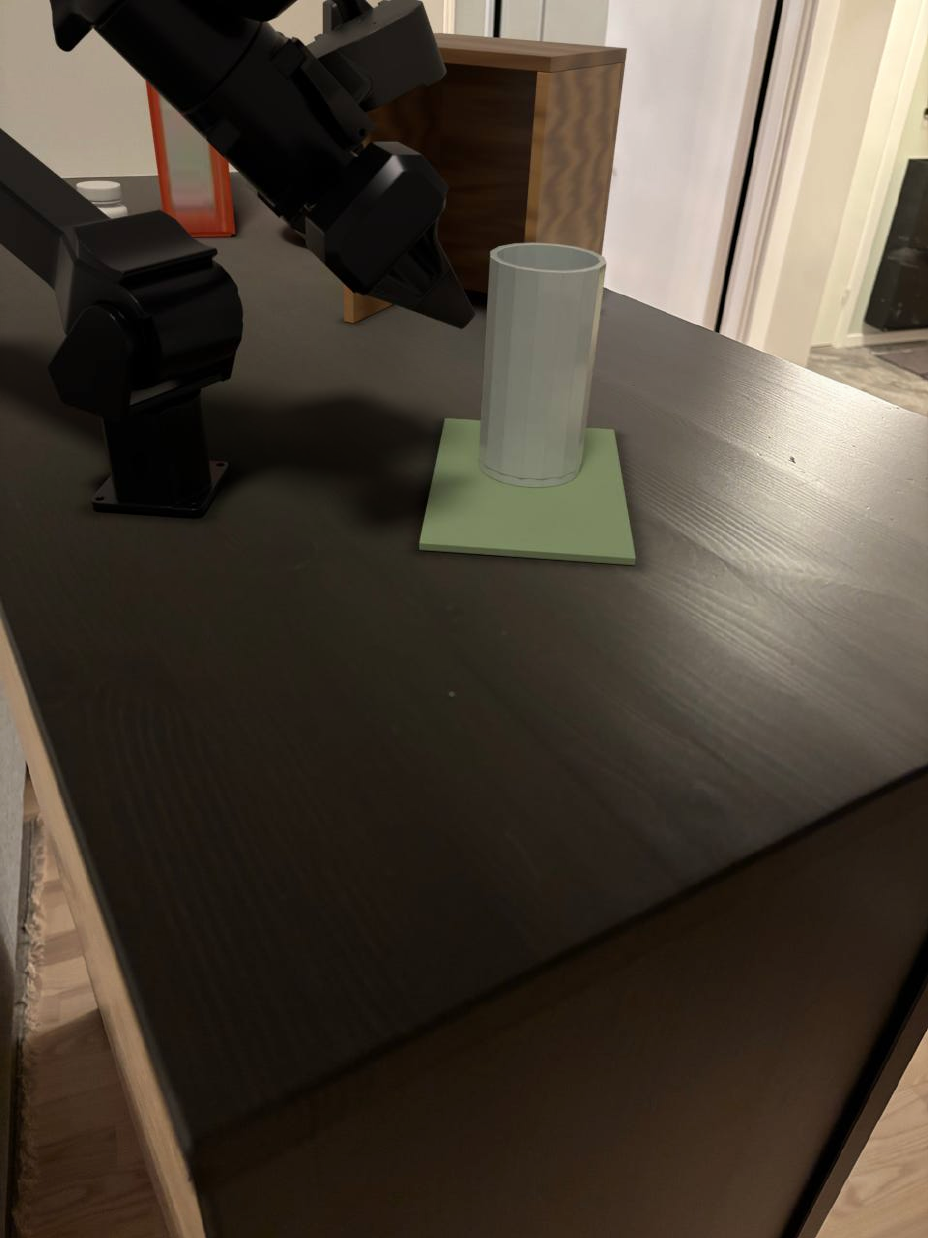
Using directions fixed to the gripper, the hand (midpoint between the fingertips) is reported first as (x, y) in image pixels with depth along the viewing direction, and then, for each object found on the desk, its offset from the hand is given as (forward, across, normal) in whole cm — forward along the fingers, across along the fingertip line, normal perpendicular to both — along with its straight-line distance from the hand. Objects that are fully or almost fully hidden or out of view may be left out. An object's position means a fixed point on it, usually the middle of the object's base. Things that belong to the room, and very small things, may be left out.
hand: (437, 296), depth 53 cm
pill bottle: (-2, +53, +19) cm, 56 cm away
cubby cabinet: (+19, +32, -3) cm, 37 cm away
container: (+12, 0, +3) cm, 13 cm away
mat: (+12, -2, +4) cm, 13 cm away
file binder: (+7, +76, +11) cm, 77 cm away
